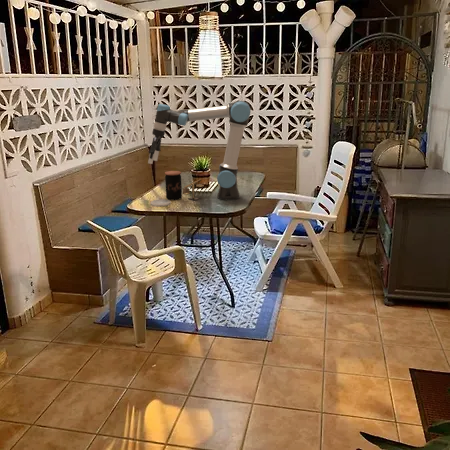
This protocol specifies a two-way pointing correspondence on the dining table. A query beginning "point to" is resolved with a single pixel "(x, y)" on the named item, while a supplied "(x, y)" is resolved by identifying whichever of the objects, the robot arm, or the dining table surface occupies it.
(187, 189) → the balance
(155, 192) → the dining table surface
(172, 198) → the coffee jar
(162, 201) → the dish
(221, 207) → the dining table surface
